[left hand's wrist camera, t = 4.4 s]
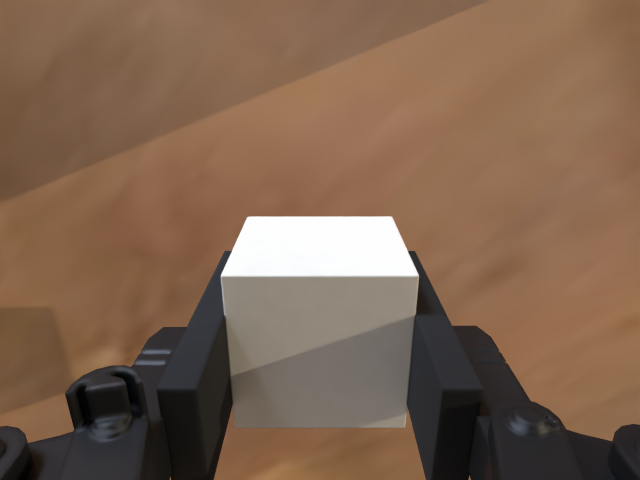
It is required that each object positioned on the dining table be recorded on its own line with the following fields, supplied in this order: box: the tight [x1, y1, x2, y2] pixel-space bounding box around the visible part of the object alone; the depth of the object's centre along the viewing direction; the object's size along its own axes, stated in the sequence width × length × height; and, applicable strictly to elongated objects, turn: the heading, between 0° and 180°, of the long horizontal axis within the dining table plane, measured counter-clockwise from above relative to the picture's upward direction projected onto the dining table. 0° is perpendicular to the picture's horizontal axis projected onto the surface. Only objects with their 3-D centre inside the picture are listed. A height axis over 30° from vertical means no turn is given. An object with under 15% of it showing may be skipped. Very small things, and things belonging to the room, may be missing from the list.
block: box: [221, 217, 419, 428], centre depth 13 cm, size 5×5×4 cm
